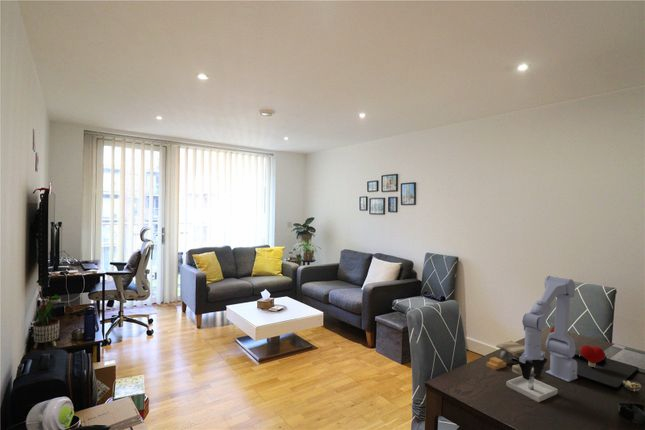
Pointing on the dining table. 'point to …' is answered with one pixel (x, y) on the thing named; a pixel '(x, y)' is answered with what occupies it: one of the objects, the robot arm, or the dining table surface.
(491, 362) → the tan stepped block
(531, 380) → the pin
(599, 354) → the red mushroom
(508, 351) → the trolley
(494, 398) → the dining table surface
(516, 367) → the pin socket
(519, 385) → the parts tray
